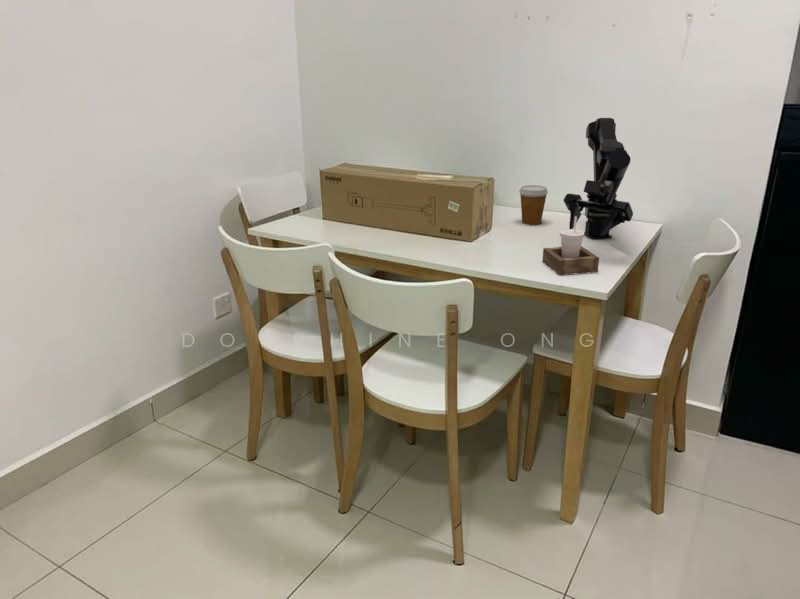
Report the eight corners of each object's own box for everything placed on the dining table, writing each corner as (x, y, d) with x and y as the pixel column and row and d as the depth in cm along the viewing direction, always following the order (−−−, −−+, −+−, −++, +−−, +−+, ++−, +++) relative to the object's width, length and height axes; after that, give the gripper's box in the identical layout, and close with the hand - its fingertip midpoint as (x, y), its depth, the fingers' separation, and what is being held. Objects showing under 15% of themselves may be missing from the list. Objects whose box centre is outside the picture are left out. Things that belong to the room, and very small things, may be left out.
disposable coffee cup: (542, 218, 213) (545, 184, 208) (548, 226, 204) (551, 190, 200) (515, 219, 213) (517, 185, 209) (519, 226, 204) (521, 191, 200)
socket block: (579, 258, 173) (580, 245, 171) (597, 271, 163) (599, 257, 161) (542, 261, 171) (543, 248, 169) (558, 275, 161) (560, 260, 159)
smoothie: (582, 270, 163) (587, 220, 158) (557, 269, 165) (561, 219, 159) (580, 263, 169) (585, 213, 164) (556, 262, 170) (560, 213, 165)
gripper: (569, 164, 172) (546, 210, 169) (634, 172, 160) (610, 222, 157) (580, 187, 180) (558, 232, 177) (642, 196, 168) (620, 244, 165)
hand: (585, 232), depth 169 cm, fingers open, 9 cm apart
